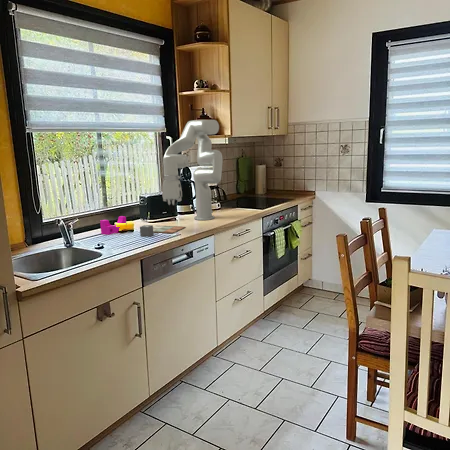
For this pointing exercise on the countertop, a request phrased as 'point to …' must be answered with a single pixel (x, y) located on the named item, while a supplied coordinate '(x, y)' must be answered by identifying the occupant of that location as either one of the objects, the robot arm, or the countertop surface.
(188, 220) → the countertop surface
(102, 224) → the toy block
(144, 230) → the die
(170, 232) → the striped panel
